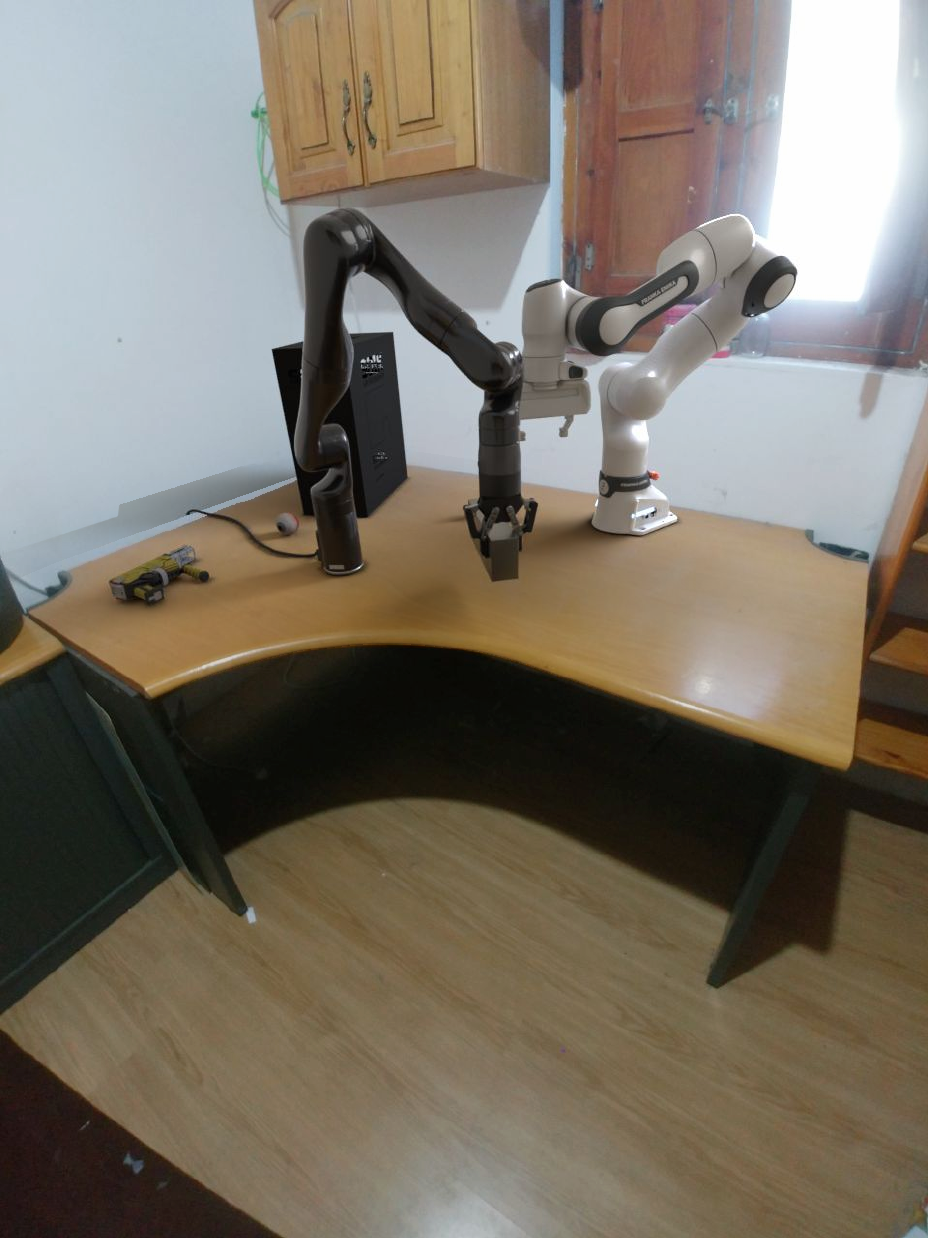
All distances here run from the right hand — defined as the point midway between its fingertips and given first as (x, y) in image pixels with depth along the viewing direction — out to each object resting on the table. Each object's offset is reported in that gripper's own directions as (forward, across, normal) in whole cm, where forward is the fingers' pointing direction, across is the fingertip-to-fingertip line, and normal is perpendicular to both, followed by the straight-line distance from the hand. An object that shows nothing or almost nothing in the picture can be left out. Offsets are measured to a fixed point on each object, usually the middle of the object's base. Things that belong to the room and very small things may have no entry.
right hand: (542, 438), depth 130 cm
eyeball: (+28, -62, +33) cm, 75 cm away
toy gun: (+28, -86, +9) cm, 91 cm away
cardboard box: (+28, -42, +61) cm, 79 cm away
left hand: (+15, -15, -25) cm, 33 cm away
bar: (+19, -15, -16) cm, 29 cm away
